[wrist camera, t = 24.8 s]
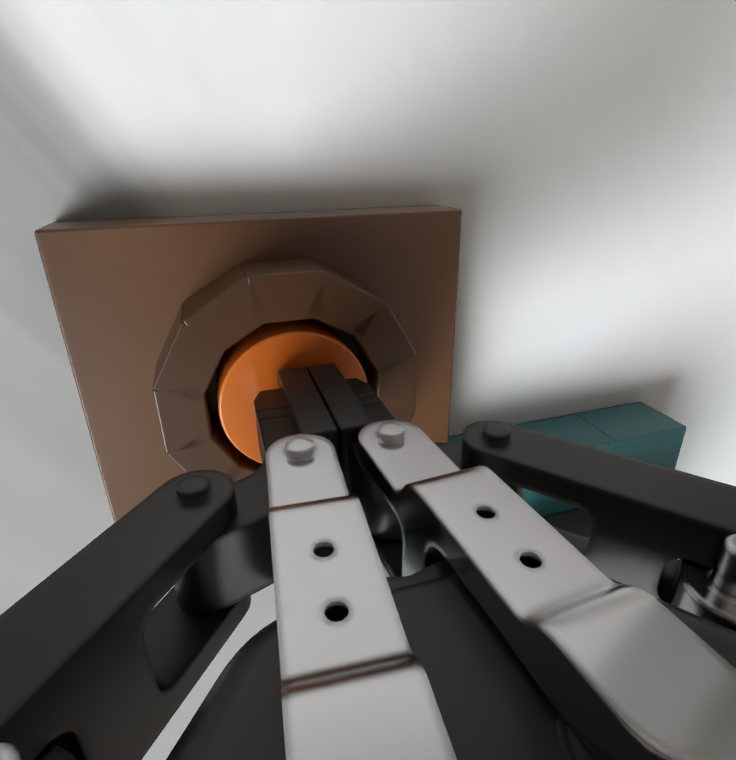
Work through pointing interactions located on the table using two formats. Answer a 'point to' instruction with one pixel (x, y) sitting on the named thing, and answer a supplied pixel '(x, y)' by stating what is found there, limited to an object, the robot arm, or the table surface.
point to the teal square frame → (609, 440)
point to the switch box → (243, 321)
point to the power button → (273, 371)
